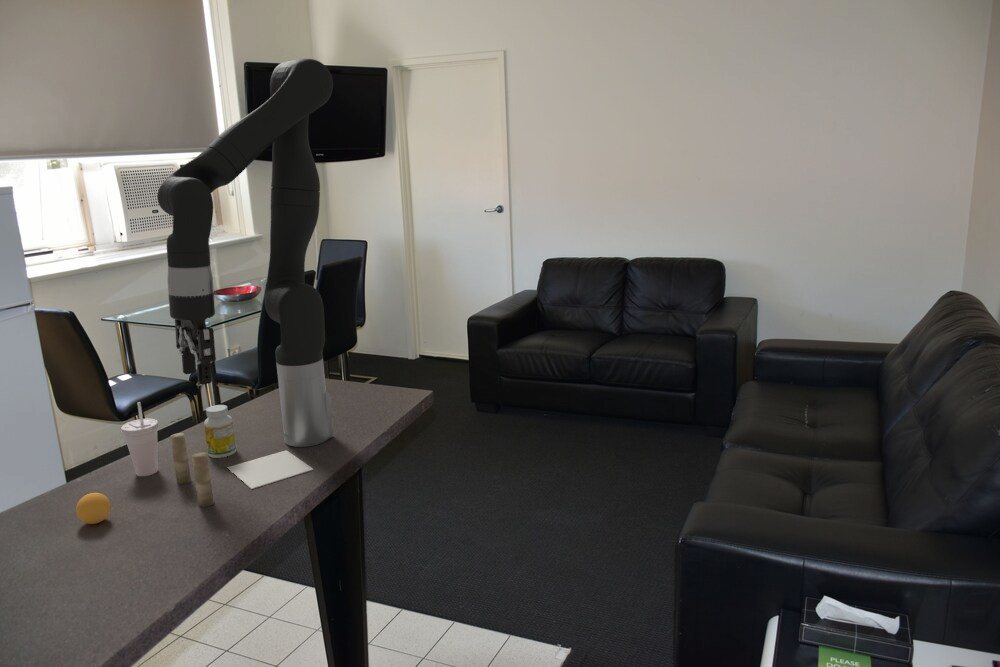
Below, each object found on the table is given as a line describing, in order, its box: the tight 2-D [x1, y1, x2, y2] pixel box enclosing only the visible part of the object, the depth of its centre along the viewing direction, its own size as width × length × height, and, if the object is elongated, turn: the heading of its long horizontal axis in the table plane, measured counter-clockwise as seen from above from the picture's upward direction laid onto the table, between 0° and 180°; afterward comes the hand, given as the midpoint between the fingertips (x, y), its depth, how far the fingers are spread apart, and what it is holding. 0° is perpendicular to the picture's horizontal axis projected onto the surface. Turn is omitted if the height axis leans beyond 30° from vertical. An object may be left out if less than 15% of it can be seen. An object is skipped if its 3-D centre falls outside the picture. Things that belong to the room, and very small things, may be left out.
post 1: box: [169, 432, 192, 485], centre depth 137 cm, size 2×2×9 cm
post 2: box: [191, 451, 215, 508], centre depth 128 cm, size 2×2×9 cm
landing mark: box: [226, 450, 314, 490], centre depth 142 cm, size 12×12×1 cm
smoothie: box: [120, 401, 160, 477], centre depth 141 cm, size 6×6×14 cm
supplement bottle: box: [203, 404, 237, 459], centre depth 149 cm, size 5×5×10 cm
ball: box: [75, 492, 112, 525], centre depth 123 cm, size 5×5×5 cm
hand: (197, 378), depth 137 cm, fingers open, 8 cm apart
